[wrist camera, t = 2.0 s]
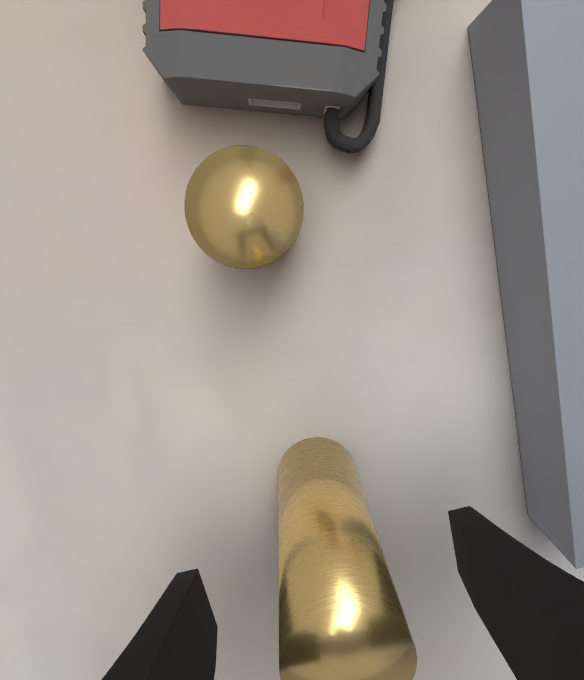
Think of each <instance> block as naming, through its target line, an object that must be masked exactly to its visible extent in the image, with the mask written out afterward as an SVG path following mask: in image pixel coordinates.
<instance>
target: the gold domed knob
mask: <svg viewBox="0 0 584 680" xmlns="http://www.w3.org/2000/svg"><path fill="white" fill-rule="evenodd" d="M303 211H304V210H303V198H302V193H301V189H300V186H299V184H298V182H297V179H296V178H295V176H294V174H293V173H292V171H291V170H290V169H289V167H288V166H287V165H286V164H285V163H284V162H283V161H282V160H281V159H279V158H278V157H277V156H276V155H274V154H272V153H270V152H269V151H266V150H264V149H262V148H258V147H254V146H247V145H237V146H231V147H227V148H224V149H221V150H219V151H217V152H215V153H213V154H212V155H210V156H209V157H207V158H206V159H205V160H204V161H203V162H202V163H201V164H200V165H199V166H198V167H197V169H196V170H195V172H194V173H193V175H192V177H191V179H190V181H189V183H188V186H187V190H186V195H185V216H186V221H187V225H188V227H189V230H190V232H191V234H192V236H193V238H194V240H195V241H196V243H197V244H198V245H199V247H200V248H201V249H202V250H203V251H204V252H205V253H206V254H207V255H208V256H210V257H211V258H213V259H214V260H216V261H218V262H219V263H221V264H224V265H227V266H229V267H234V268H241V269H252V268H258V267H261V266H265V265H267V264H269V263H272V262H273V261H275V260H277V259H278V258H280V257H281V256H282V255H283V254H284V253H285V252H286V251H287V250H288V249H289V248H290V247H291V245H292V244H293V243H294V241H295V239H296V237H297V235H298V233H299V231H300V228H301V224H302V220H303Z"/></svg>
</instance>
